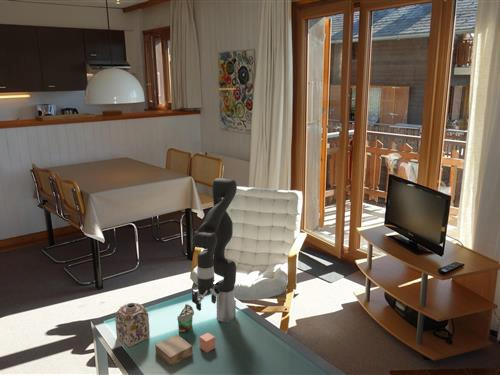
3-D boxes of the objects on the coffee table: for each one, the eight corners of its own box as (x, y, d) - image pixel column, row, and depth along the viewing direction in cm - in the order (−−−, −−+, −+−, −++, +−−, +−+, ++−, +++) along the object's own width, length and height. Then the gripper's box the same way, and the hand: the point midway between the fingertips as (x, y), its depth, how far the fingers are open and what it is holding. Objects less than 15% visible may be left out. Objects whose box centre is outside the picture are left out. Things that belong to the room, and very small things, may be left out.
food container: (189, 336, 219) (189, 318, 216) (177, 334, 220) (177, 316, 217) (197, 322, 230) (197, 304, 227) (186, 320, 231) (185, 303, 228)
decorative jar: (150, 337, 217) (148, 304, 212) (129, 348, 209) (127, 314, 204) (136, 327, 225) (134, 295, 220) (116, 337, 217) (113, 305, 212)
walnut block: (177, 343, 213) (177, 334, 212) (192, 355, 205) (192, 345, 204) (155, 354, 206) (155, 344, 204) (170, 366, 197) (170, 357, 196)
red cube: (208, 343, 213) (207, 332, 212) (214, 347, 210) (214, 336, 208) (199, 347, 210) (199, 336, 208) (206, 352, 207) (206, 341, 205)
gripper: (212, 266, 207) (213, 297, 211) (187, 276, 197) (188, 308, 202) (223, 272, 201) (223, 303, 206) (198, 282, 192) (199, 315, 196)
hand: (206, 306), depth 204 cm, fingers open, 8 cm apart
